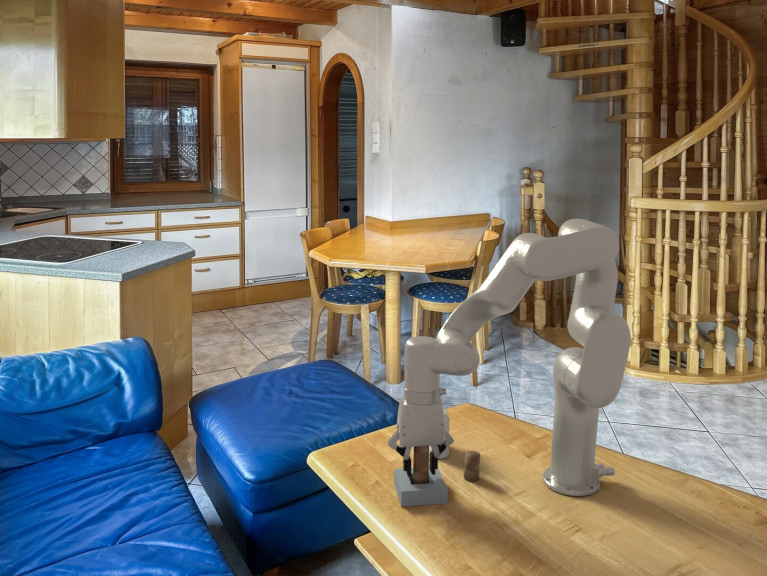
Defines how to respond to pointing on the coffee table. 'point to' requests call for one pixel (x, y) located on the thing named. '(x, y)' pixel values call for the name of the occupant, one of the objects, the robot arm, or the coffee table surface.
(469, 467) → the short dowel
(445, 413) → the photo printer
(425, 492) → the hole block
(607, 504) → the coffee table surface
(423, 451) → the tall dowel
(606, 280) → the robot arm
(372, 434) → the coffee table surface
